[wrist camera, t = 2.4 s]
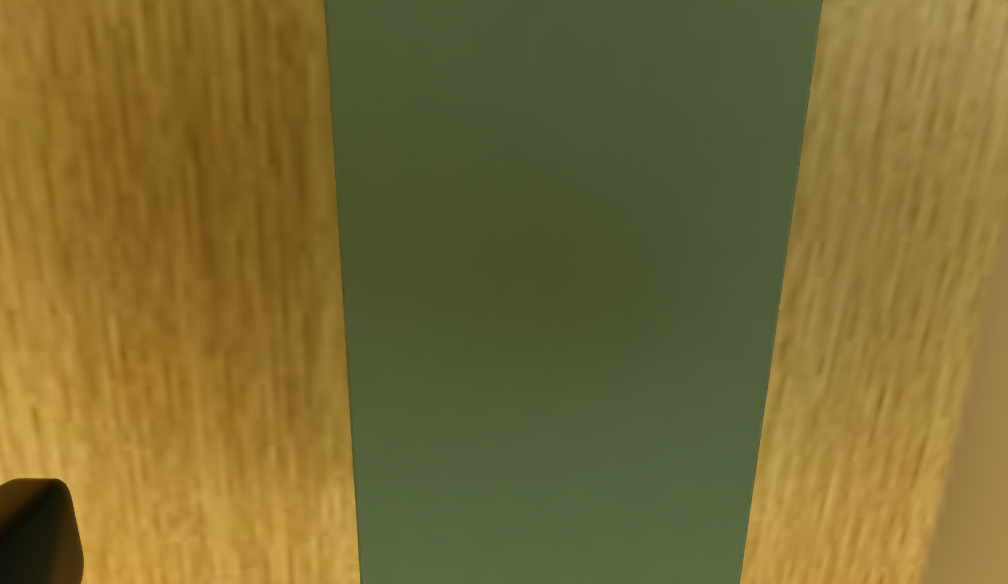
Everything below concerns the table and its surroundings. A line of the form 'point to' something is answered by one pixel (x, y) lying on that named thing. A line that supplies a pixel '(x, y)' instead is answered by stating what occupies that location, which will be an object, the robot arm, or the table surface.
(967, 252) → the table surface
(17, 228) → the table surface
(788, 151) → the green block
